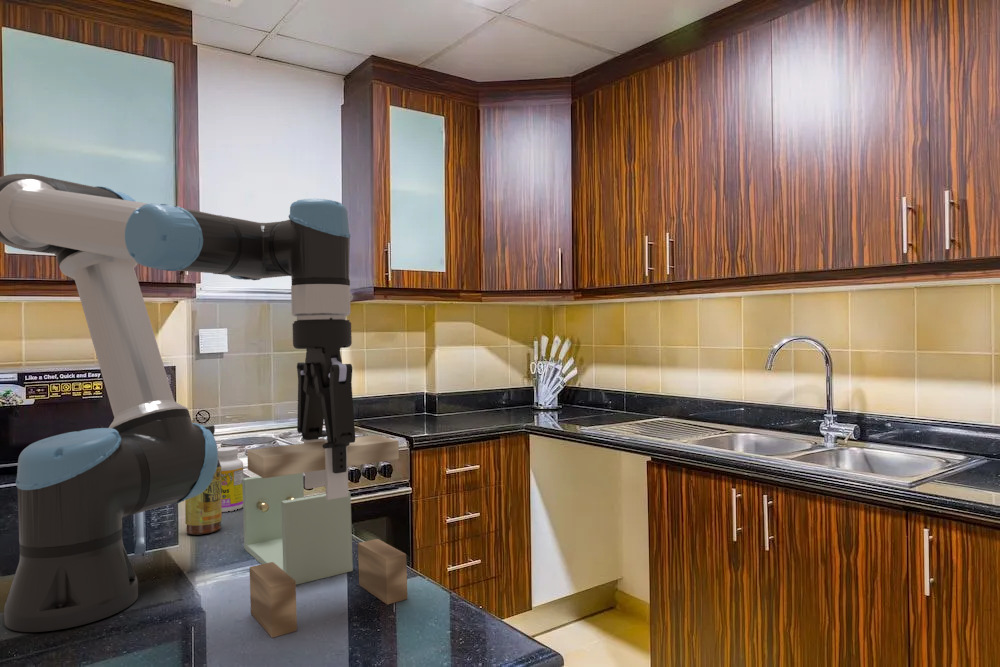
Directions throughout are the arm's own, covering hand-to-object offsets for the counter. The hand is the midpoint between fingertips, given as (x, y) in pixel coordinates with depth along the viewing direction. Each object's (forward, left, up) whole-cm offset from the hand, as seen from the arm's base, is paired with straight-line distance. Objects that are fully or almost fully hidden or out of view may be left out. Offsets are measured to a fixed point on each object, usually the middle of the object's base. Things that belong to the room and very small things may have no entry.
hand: (326, 491), depth 88 cm
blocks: (0, 0, -15) cm, 15 cm away
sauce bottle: (+20, +45, -15) cm, 52 cm away
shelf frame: (+13, +17, -15) cm, 27 cm away
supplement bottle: (+34, +54, -15) cm, 66 cm away
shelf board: (0, 0, +4) cm, 4 cm away
